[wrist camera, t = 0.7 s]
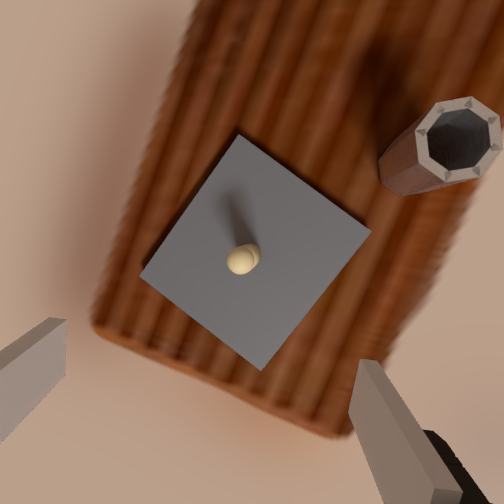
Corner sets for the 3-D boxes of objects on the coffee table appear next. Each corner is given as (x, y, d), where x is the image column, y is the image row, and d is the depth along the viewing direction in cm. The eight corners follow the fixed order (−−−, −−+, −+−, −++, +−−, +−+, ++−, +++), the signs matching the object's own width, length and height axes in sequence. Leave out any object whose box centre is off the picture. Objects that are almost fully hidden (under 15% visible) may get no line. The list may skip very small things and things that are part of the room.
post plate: (241, 137, 40) (223, 108, 31) (368, 231, 39) (392, 232, 30) (144, 274, 43) (100, 288, 33) (262, 365, 42) (252, 407, 32)
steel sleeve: (402, 128, 38) (451, 82, 26) (448, 160, 38) (519, 129, 26) (367, 173, 39) (399, 149, 27) (412, 205, 39) (464, 195, 27)
